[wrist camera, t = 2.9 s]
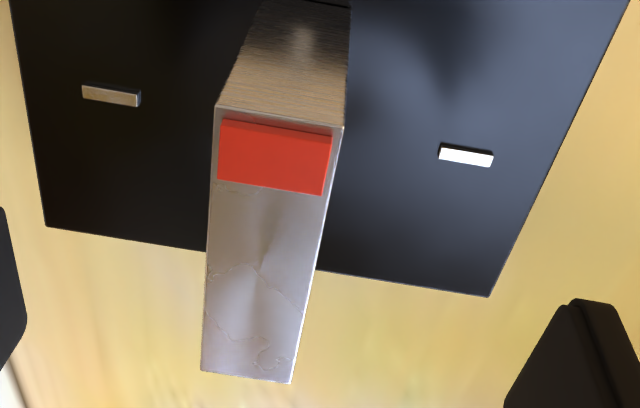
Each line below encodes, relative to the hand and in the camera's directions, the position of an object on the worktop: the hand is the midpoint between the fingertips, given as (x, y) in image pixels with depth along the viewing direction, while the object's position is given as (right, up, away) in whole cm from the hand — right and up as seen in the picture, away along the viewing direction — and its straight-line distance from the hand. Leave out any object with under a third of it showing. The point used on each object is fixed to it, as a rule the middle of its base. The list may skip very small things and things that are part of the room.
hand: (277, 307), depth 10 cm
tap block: (0, +6, +8) cm, 9 cm away
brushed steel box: (0, +4, +5) cm, 6 cm away
